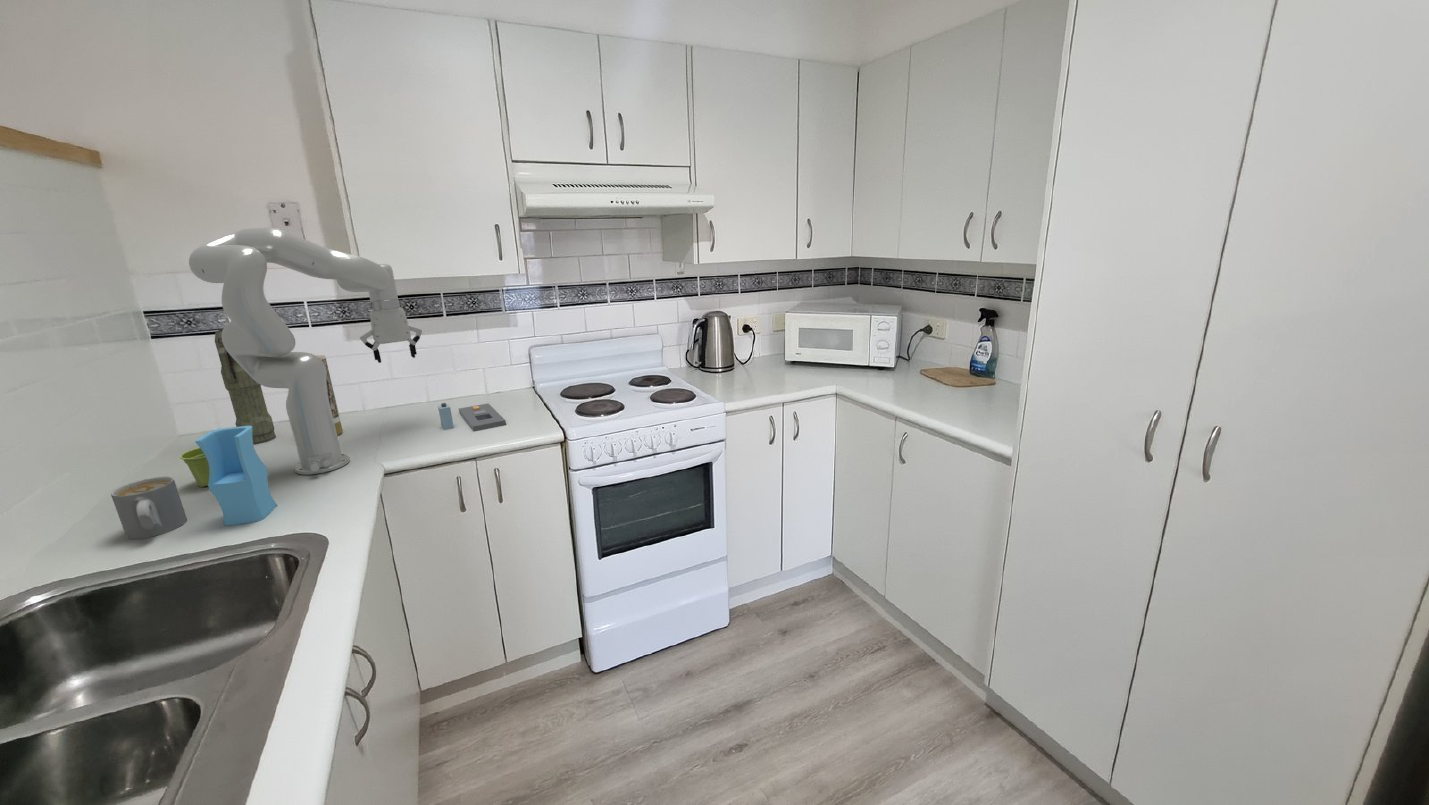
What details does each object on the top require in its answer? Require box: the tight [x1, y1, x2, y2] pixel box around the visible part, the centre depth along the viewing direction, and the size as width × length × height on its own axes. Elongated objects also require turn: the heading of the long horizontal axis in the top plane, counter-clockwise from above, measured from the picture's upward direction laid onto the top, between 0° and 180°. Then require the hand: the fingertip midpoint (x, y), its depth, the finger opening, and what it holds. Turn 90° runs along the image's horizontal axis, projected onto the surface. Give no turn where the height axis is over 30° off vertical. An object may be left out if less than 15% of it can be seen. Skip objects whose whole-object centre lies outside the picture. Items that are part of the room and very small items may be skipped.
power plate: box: [458, 403, 507, 432], centre depth 195 cm, size 24×10×2 cm, turn 33°
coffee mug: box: [110, 476, 188, 540], centre depth 125 cm, size 13×10×10 cm
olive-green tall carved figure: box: [214, 328, 277, 445], centre depth 177 cm, size 9×12×35 cm
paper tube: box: [316, 354, 343, 436], centre depth 181 cm, size 7×7×25 cm
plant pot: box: [179, 447, 210, 488], centre depth 150 cm, size 9×9×9 cm
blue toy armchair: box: [194, 426, 278, 527], centre depth 129 cm, size 8×8×20 cm
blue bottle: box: [437, 402, 455, 431], centre depth 187 cm, size 4×3×8 cm
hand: (396, 359), depth 184 cm, fingers open, 9 cm apart
